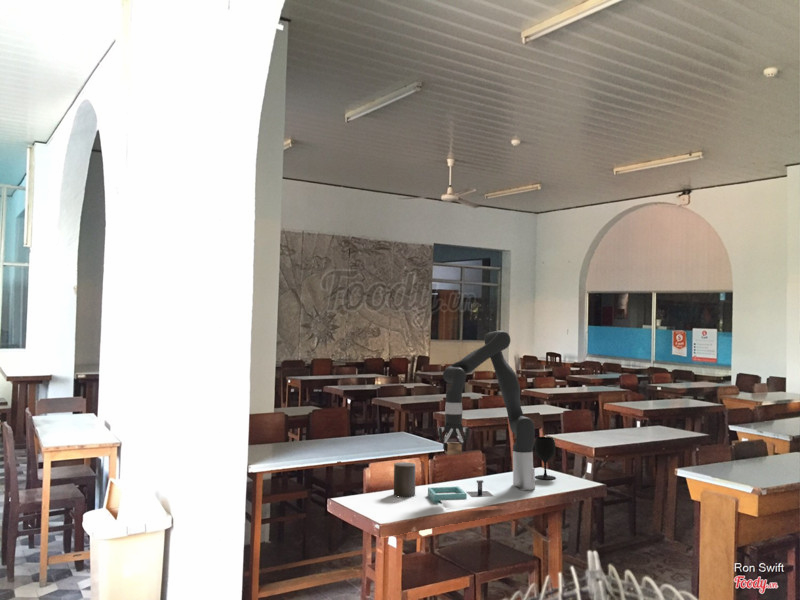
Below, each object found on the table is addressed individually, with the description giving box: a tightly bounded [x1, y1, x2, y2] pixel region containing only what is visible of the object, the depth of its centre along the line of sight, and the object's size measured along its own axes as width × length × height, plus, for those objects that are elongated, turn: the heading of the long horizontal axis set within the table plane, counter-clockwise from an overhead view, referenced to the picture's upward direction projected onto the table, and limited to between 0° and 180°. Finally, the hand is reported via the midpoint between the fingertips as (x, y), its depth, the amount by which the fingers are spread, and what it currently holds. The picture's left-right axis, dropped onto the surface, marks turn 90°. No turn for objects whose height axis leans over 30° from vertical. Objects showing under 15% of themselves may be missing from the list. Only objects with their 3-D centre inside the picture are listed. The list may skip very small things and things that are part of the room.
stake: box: [466, 479, 494, 498], centre depth 281 cm, size 10×10×7 cm
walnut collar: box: [444, 441, 463, 456], centre depth 280 cm, size 6×6×4 cm
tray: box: [427, 486, 468, 504], centre depth 279 cm, size 14×14×4 cm
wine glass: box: [533, 436, 557, 481], centre depth 322 cm, size 10×10×20 cm
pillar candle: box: [393, 461, 417, 498], centre depth 286 cm, size 10×10×15 cm
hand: (453, 451), depth 280 cm, fingers closed on walnut collar, 6 cm apart
